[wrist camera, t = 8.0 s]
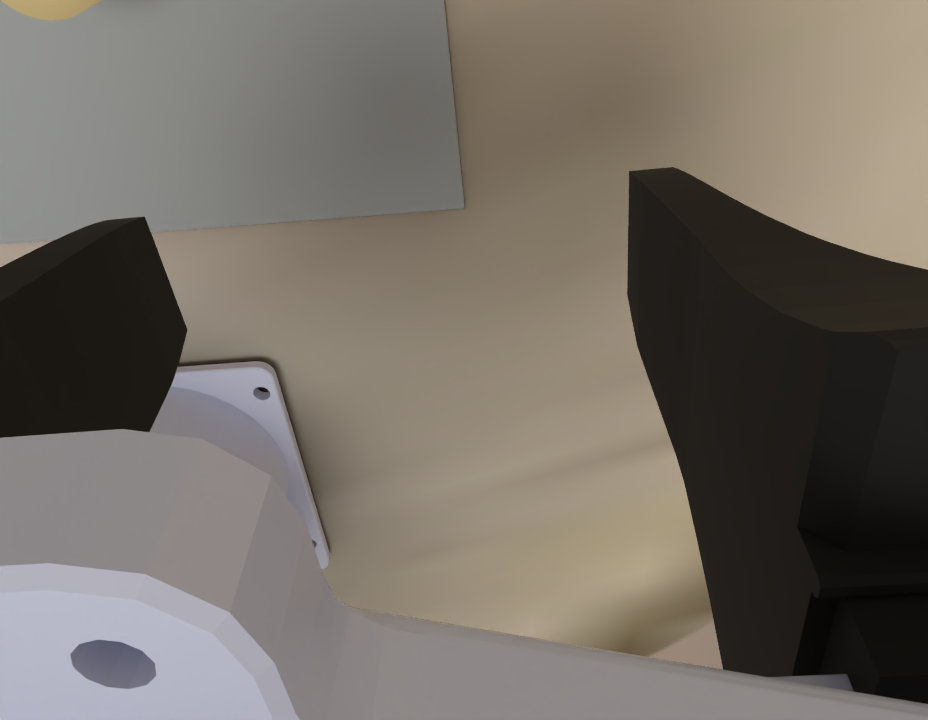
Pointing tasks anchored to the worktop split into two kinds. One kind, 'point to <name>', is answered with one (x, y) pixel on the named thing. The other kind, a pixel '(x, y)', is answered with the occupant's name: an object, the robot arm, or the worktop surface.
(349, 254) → the worktop surface
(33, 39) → the lid
